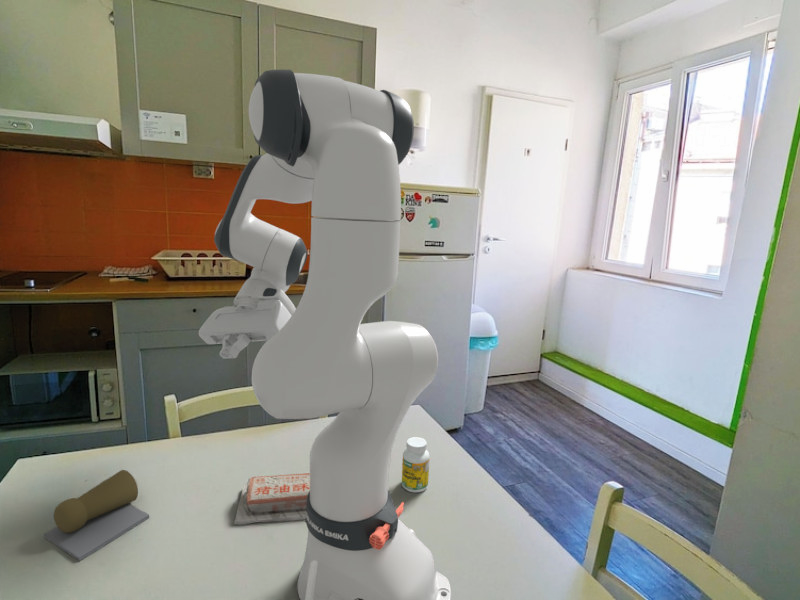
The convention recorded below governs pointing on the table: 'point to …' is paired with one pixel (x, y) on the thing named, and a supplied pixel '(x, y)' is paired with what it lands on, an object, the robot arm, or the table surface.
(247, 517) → the packaged product
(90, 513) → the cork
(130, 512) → the mat
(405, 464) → the supplement bottle
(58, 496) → the table surface
